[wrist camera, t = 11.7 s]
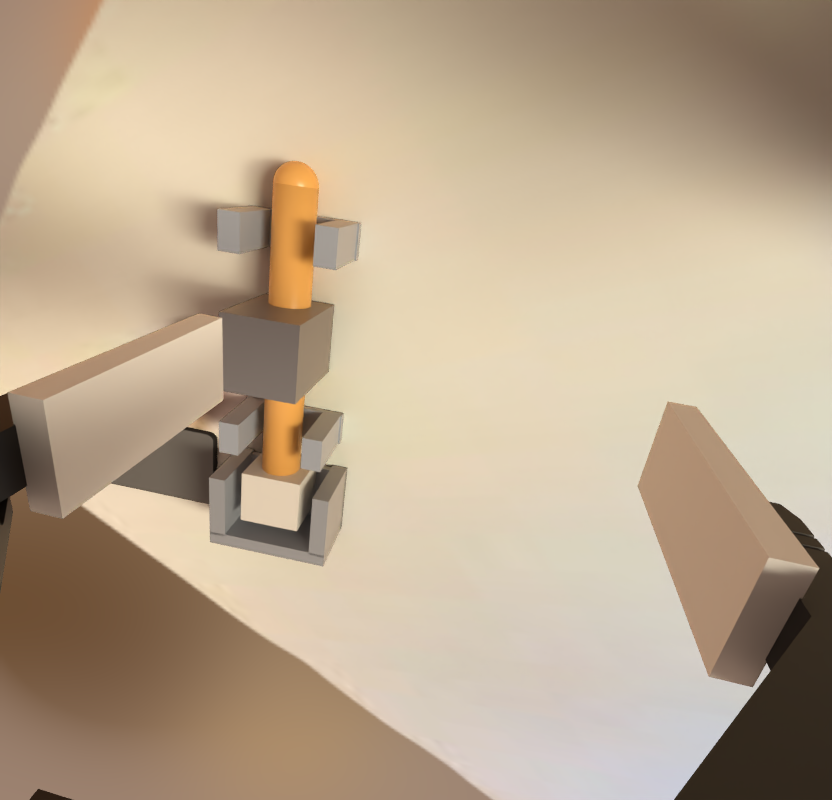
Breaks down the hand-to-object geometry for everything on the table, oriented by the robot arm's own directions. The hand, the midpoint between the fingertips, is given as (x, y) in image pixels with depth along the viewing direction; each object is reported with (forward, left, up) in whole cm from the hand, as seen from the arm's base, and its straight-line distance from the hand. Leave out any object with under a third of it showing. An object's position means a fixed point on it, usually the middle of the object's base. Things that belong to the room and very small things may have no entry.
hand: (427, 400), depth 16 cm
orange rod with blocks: (+7, -12, -22) cm, 26 cm away
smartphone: (+19, -25, -22) cm, 39 cm away
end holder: (+19, -11, -22) cm, 31 cm away
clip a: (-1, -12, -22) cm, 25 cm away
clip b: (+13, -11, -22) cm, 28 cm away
